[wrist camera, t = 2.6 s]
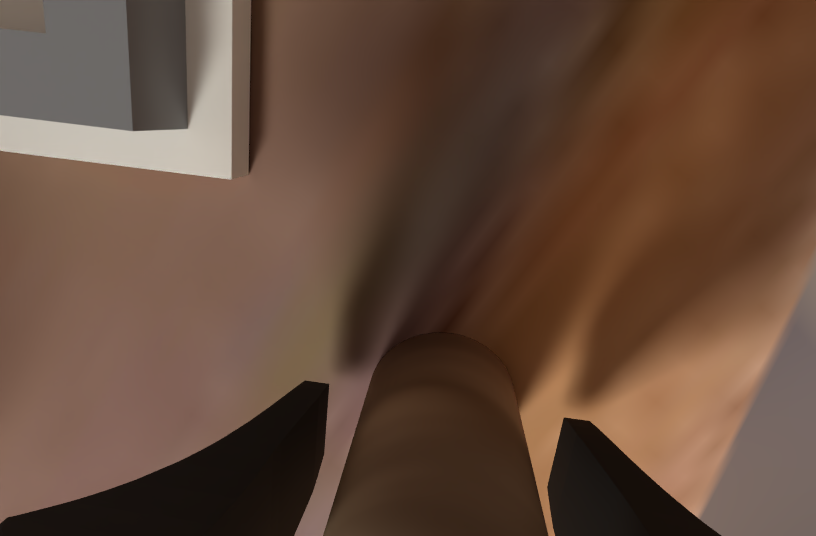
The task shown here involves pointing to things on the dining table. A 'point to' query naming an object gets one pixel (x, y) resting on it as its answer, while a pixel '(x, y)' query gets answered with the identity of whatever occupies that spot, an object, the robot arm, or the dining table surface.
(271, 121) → the dining table surface
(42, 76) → the socket block
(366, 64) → the dining table surface
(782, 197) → the dining table surface
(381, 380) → the peg
